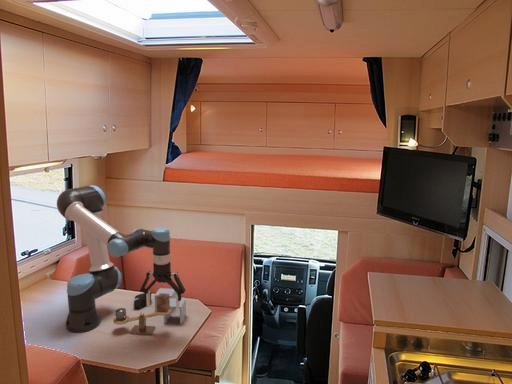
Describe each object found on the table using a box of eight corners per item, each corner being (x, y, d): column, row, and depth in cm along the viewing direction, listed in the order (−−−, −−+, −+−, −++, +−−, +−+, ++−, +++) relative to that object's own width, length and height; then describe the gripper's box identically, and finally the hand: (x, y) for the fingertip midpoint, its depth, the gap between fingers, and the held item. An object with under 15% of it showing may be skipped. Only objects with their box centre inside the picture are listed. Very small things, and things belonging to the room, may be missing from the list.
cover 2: (164, 323, 194) (163, 306, 192) (169, 314, 202) (168, 298, 200) (181, 324, 193) (181, 307, 191) (186, 315, 202) (185, 298, 200)
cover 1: (155, 311, 205) (154, 295, 203) (160, 304, 213) (159, 288, 212) (171, 312, 204) (171, 296, 203) (176, 304, 213) (175, 288, 211)
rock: (133, 310, 206) (133, 299, 205) (134, 301, 216) (133, 291, 214) (151, 308, 208) (151, 298, 207) (151, 300, 218) (151, 290, 217)
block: (157, 312, 182) (156, 297, 180) (160, 307, 186) (159, 293, 185) (166, 312, 181) (166, 298, 180) (169, 307, 186) (169, 293, 185)
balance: (111, 333, 184) (110, 311, 182) (117, 325, 191) (116, 303, 189) (169, 336, 182) (168, 314, 180) (173, 328, 189) (172, 306, 187)
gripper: (131, 264, 177) (133, 308, 181) (187, 266, 175) (188, 311, 179) (137, 258, 184) (139, 301, 188) (191, 260, 182) (192, 303, 186)
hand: (163, 306), depth 184 cm, fingers open, 13 cm apart
